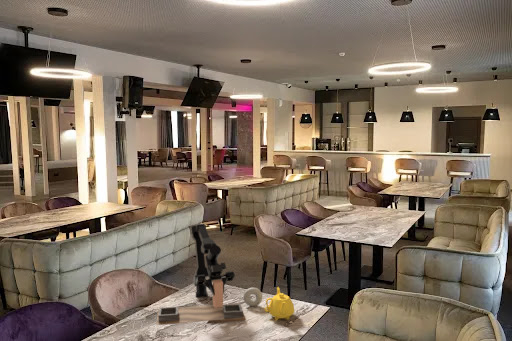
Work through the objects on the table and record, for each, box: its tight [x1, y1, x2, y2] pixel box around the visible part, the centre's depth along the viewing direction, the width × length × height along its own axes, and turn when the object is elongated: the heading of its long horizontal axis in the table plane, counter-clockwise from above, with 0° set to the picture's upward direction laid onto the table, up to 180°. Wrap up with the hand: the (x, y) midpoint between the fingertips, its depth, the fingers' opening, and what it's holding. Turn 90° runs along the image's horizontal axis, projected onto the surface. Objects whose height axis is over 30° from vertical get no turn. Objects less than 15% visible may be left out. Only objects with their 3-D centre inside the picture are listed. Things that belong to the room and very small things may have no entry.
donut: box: [242, 287, 263, 307], centre depth 216 cm, size 10×4×10 cm, turn 89°
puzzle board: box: [155, 303, 246, 326], centre depth 204 cm, size 17×42×4 cm, turn 100°
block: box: [212, 279, 224, 308], centre depth 199 cm, size 4×4×12 cm
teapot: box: [264, 286, 295, 321], centre depth 204 cm, size 20×15×12 cm
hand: (218, 294), depth 198 cm, fingers closed on block, 4 cm apart
